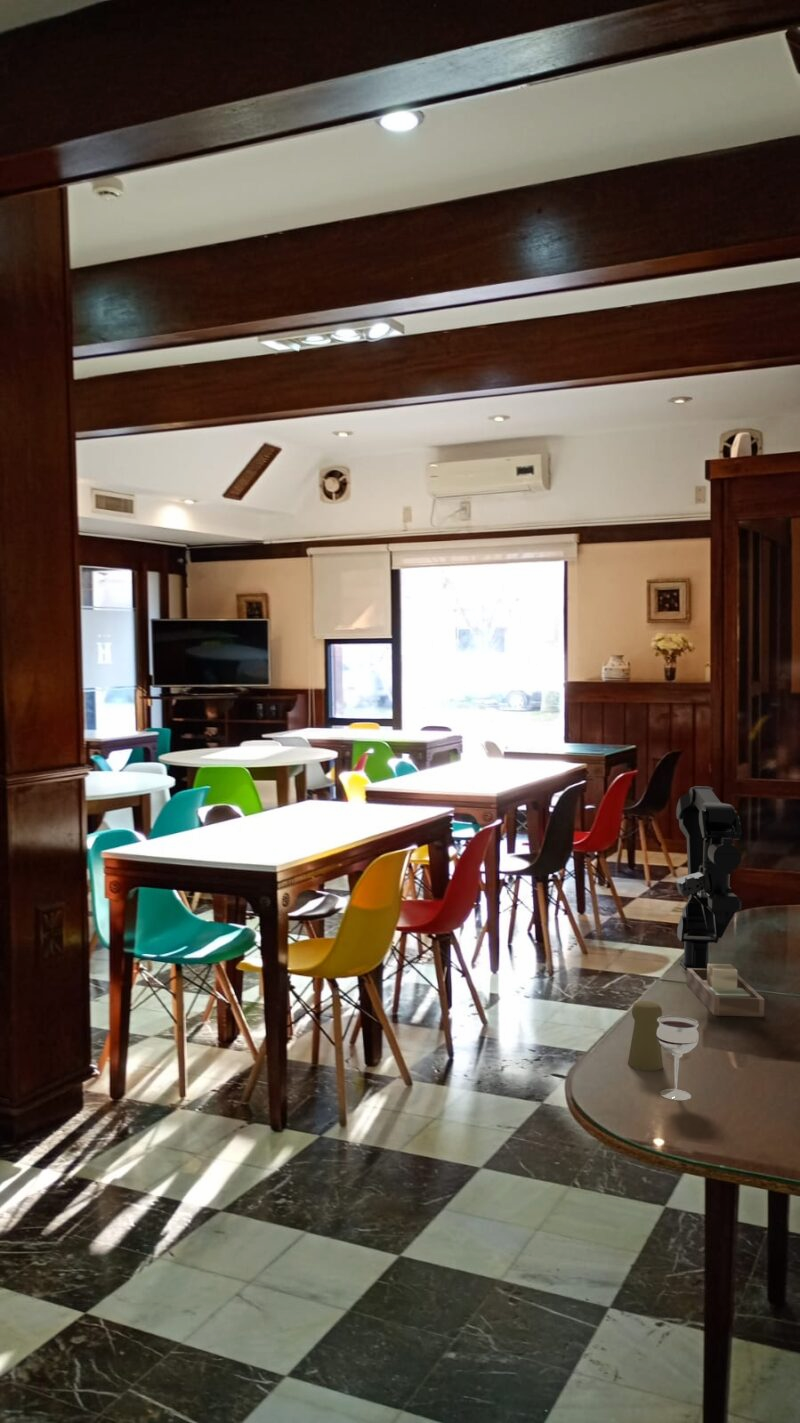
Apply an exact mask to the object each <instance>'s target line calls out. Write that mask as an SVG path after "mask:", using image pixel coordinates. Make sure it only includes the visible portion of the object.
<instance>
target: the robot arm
mask: <svg viewBox="0 0 800 1423" xmlns="http://www.w3.org/2000/svg"><path fill="white" fill-rule="evenodd" d="M675 811H676V813H675V816H676V819H677V820H678V824H679V825H678V826H679V829H680V831H681V832H682V834H683V835H684V837H685V838H686V855H687V856H686V857H687V861H686V862H687V875H685V876H684V875H683V876H682V877H677V878H675V880H674V882H675V886H676V888H677V891H678V894H679V895H681V897H682V898H683V897H684V898H686V897H688V899H687V901H686V903H685V905H684V906H683V908H682V912H681V915H680V918H679V921H678V924H677V931H676V933H677V934H676V936H677V939H678V940H679V942H680V943H684V946H683V951H684V952H683V960H682V959H681V960H679V964H680V965H681V966H682V967H683V968H684V969H685V970H687V968H702V969H707V964H710V944H711V943H714V944H717V943H718V942H719V939H721V938H722V937H723V935H724V934H725V932H726V930H727V927H728V926H729V924H730V923H731V921H732V918H733V917H734V916H735V914H736V913H737V912H738V911H740V910H742V900H741V898H739V897H738V895H736V894H735V893H734V892H732V890H733V887H730V879H731V878H730V876H731V875H733V873H734V872H733V871H734V870H735V869H737V868H738V867H739V865H740V864H741V861H742V854H741V851H740V850H739V848H738V847H737V846H736V845H734V842H733V841H734V840H740V839H741V835H742V832H743V831H742V825H741V820H740V816H739V815H738V811H737V810H735V807H734V806H733V805H732V804H729V803H724V802H721V801H720V799H719V798H718V797H717V795H716V794H715V792H714V788H713V787H711V786H699V785H698V786H697V785H695V786H693V787H690V788H689V791H688V792H686V793H685V794H683V795H682V796H681V797H679V799H678V802H677V804H676V810H675Z"/></svg>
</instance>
